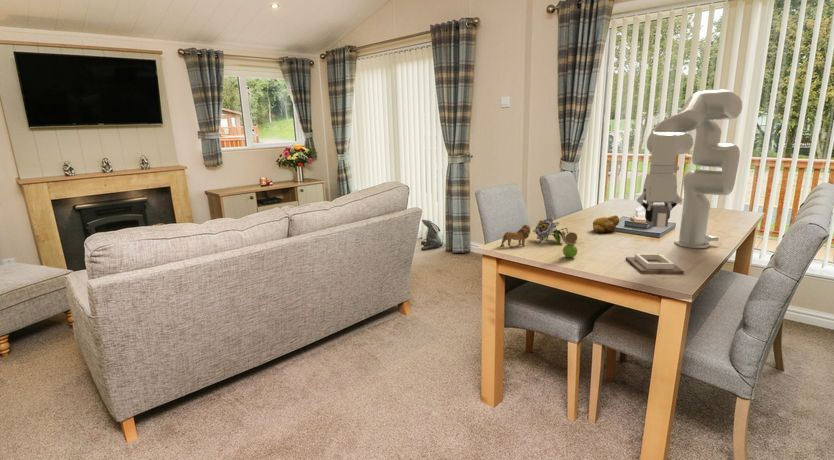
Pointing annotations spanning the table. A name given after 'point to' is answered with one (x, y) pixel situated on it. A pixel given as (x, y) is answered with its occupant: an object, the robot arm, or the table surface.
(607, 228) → the brown toad figurine
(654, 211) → the grey rectangular block
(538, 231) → the passion flower
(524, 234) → the lion figurine
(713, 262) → the table surface
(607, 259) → the table surface
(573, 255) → the snail figurine
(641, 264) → the brown piece
